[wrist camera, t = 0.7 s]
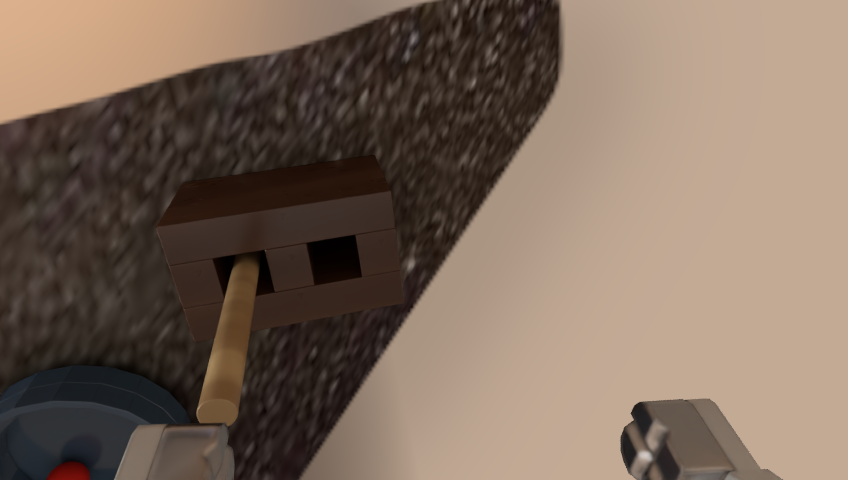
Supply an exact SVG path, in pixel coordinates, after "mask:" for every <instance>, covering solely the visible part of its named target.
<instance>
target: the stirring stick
mask: <svg viewBox="0 0 848 480" xmlns="http://www.w3.org/2000/svg"><path fill="white" fill-rule="evenodd" d="M261 255H262V250H260V251H254V252H248V253H242V254H236V255H235V259H234V263H233V267H232V271H231V275H230V279H229V283H228V287H227V291H226V295H225V299H224V304H223V308H222V312H221V316H220V320H219V324H218V328H217V332H216V336H215V340H214V344H213V348H212V352H211V356H210V360H209V364H208V368H207V372H206V376H205V380H204V384H203V388H202V392H201V396H200V400H199V404H198V409H197V418H198V420H199V422H200V423H222V422H226V424H227V427H228V426H230V425H231V424H232V423H233V422H234V421H235V420H236V418H237V416H238V410H239V403H240V397H241V390H242V383H243V376H244V370H245V363H246V356H247V349H248V343H249V336H250V329H251V323H252V316H253V309H254V302H255V296H256V289H257V282H258V276H259V269H260V262H261Z"/></svg>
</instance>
